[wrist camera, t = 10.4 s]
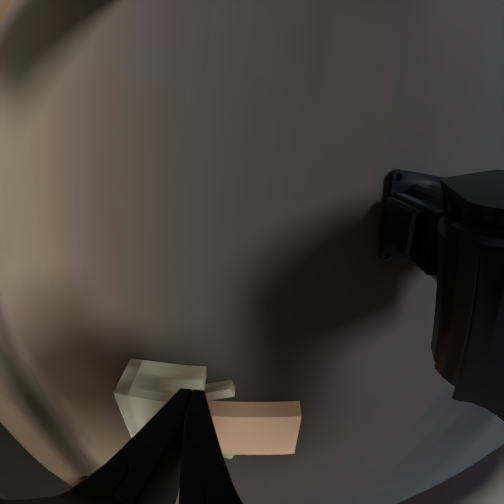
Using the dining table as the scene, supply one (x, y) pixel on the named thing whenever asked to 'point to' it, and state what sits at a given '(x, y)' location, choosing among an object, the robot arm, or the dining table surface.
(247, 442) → the terracotta tile
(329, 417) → the dining table surface
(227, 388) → the grey-green flat pronged block
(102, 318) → the dining table surface
